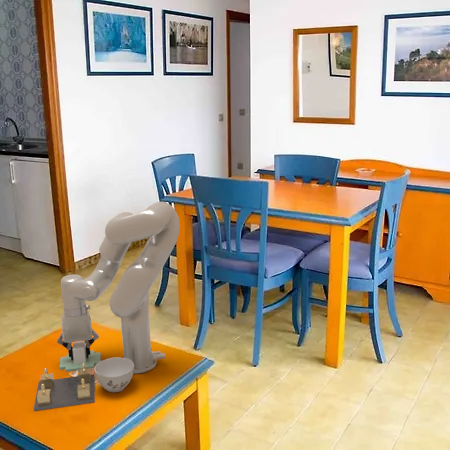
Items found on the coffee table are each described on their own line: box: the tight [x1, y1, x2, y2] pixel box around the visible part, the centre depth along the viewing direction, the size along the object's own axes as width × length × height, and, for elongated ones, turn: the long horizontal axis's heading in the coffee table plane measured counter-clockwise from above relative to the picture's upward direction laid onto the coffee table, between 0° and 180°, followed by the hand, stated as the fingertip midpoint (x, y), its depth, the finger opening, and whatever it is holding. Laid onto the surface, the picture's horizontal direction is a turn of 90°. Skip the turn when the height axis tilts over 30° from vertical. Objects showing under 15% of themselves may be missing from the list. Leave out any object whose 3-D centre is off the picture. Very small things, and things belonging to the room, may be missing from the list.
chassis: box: [33, 363, 96, 412], centre depth 180 cm, size 18×16×7 cm
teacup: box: [93, 357, 134, 393], centre depth 183 cm, size 15×12×8 cm
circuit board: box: [59, 341, 102, 373], centre depth 200 cm, size 14×12×6 cm
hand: (80, 357), depth 200 cm, fingers open, 4 cm apart
